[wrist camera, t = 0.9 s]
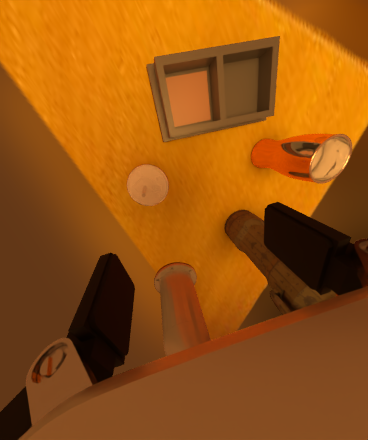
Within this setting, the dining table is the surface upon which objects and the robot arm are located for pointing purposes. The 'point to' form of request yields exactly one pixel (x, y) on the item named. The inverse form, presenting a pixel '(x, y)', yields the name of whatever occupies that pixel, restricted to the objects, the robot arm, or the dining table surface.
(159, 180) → the smoothie
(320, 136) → the beer glass
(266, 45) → the drink carrier
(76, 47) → the dining table surface
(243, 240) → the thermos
